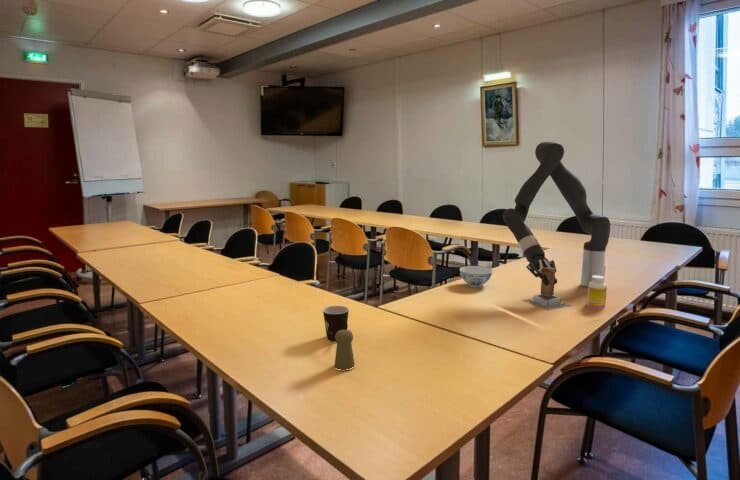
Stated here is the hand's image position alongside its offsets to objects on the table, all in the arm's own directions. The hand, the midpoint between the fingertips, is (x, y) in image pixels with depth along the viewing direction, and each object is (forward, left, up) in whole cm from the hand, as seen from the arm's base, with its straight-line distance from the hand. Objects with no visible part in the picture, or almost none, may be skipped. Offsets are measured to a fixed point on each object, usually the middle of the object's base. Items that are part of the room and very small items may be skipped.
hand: (551, 283), depth 185 cm
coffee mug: (+90, -6, -10) cm, 91 cm away
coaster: (0, -2, -10) cm, 10 cm away
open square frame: (0, -2, -9) cm, 9 cm away
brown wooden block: (0, -2, -5) cm, 5 cm away
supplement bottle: (-15, +9, -10) cm, 20 cm away
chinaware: (+8, -38, -10) cm, 40 cm away
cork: (+95, +14, -10) cm, 96 cm away
